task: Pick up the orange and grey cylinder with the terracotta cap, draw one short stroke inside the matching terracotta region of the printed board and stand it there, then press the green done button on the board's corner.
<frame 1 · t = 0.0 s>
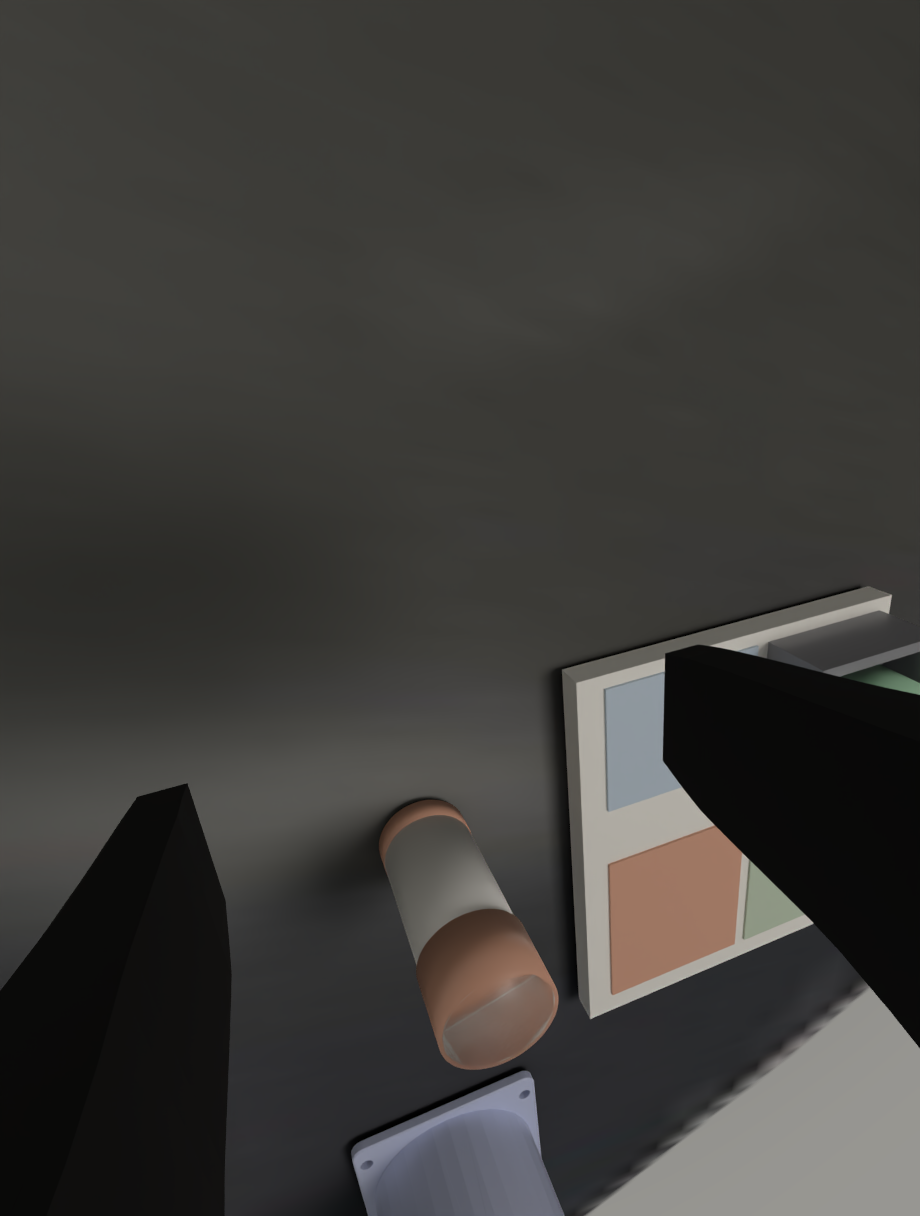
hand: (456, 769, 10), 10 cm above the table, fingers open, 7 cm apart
board: (715, 803, 27), on the table
orange and grey cylinder: (422, 837, 23), on the table
button housing: (817, 685, 25), resting on board
done button: (876, 718, 23), point 4 cm above the table, slide at 0.0 cm
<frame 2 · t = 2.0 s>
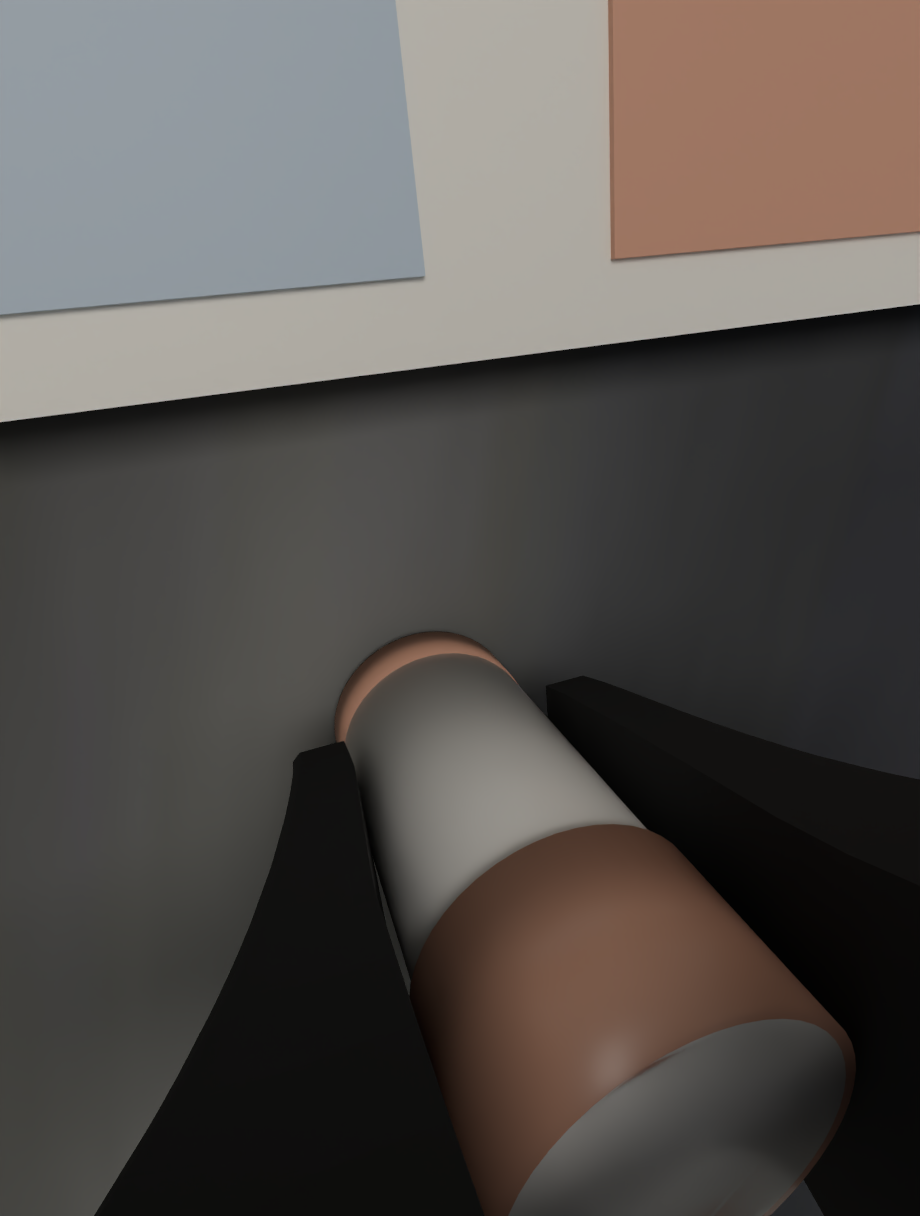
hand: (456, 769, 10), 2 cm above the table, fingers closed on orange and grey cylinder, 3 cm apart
orange and grey cylinder: (425, 715, 11), on the table, touching gripper
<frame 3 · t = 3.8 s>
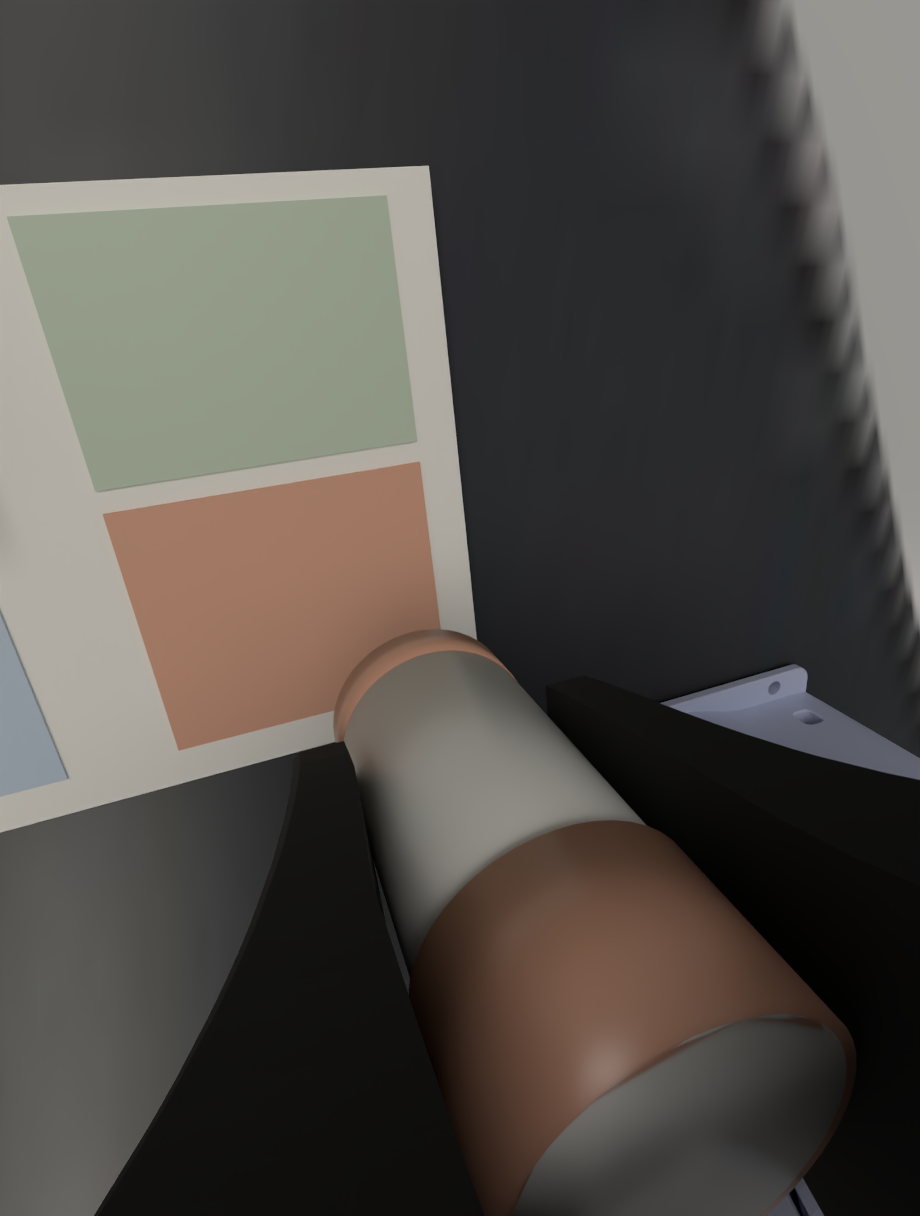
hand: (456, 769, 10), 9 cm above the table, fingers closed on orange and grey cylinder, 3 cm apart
board: (116, 525, 15), on the table
orange and grey cylinder: (424, 713, 11), point 7 cm above the table, touching gripper
when the fingers open (3 cm above the table, at t = 5.5 s): orange and grey cylinder stays where it is, resting on board.
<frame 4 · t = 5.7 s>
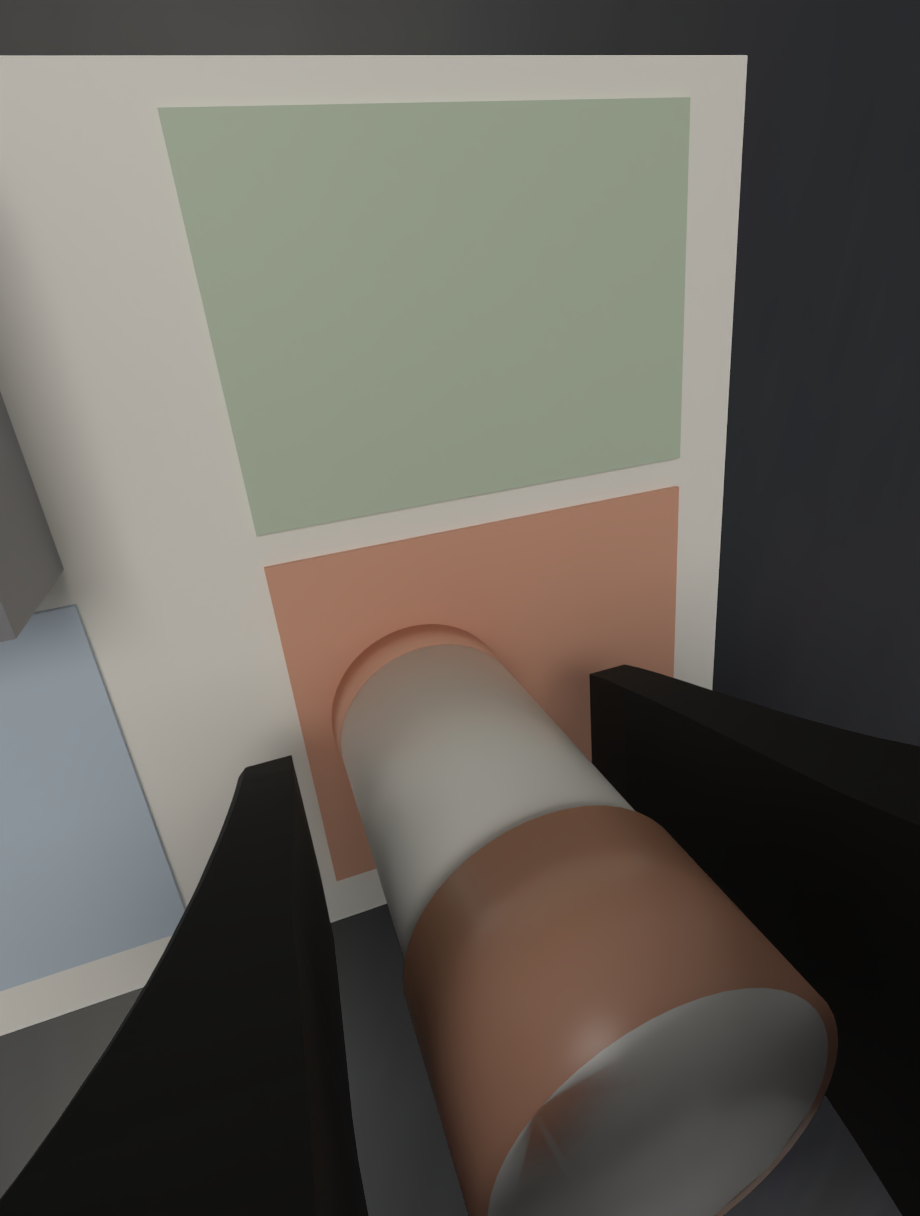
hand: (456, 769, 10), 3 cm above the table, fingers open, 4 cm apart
board: (266, 577, 11), on the table
orange and grey cylinder: (421, 707, 11), point 1 cm above the table, touching board
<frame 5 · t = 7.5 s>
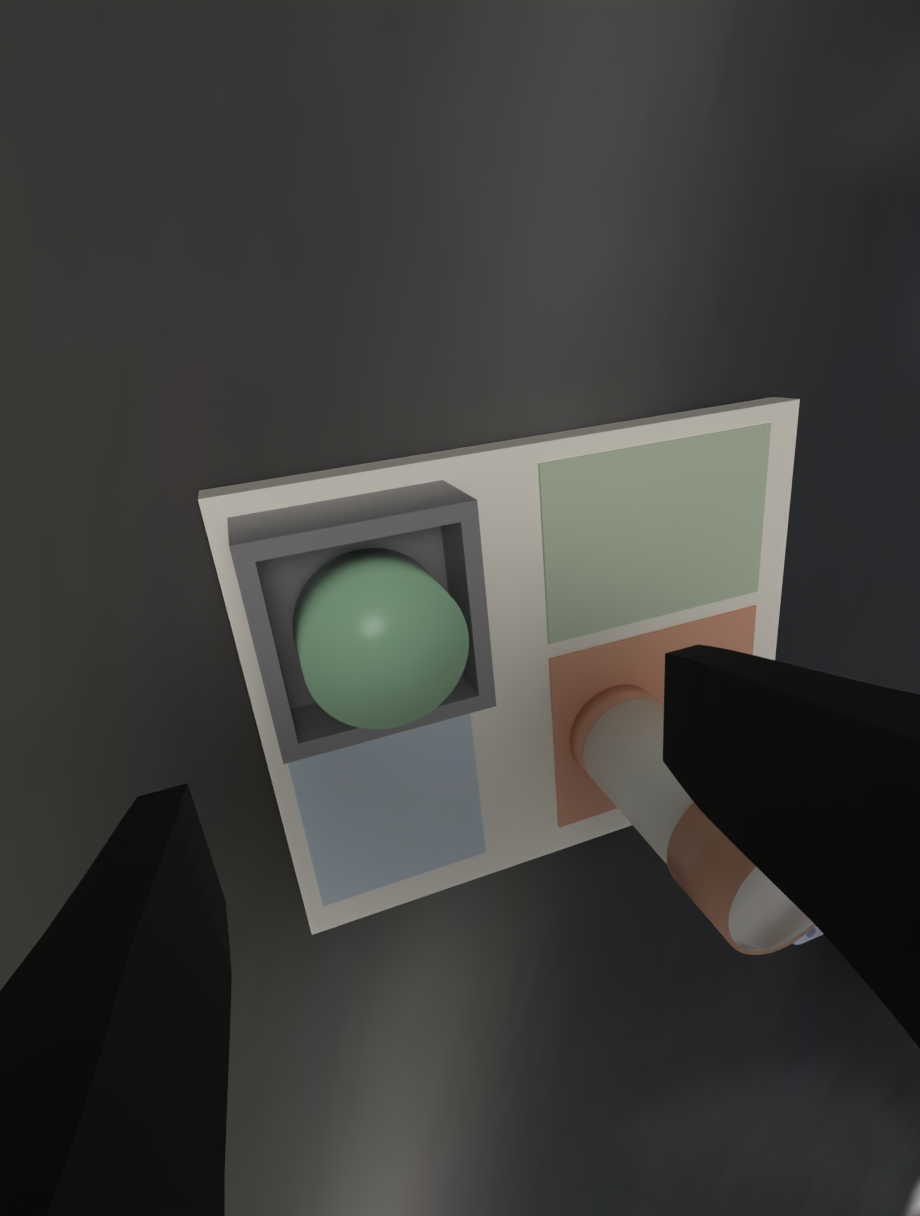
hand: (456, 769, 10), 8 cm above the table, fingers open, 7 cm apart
board: (534, 659, 20), on the table
orange and grey cylinder: (614, 729, 20), point 1 cm above the table, touching board
button housing: (357, 598, 16), resting on board
done button: (379, 637, 14), point 3 cm above the table, slide at 0.0 cm
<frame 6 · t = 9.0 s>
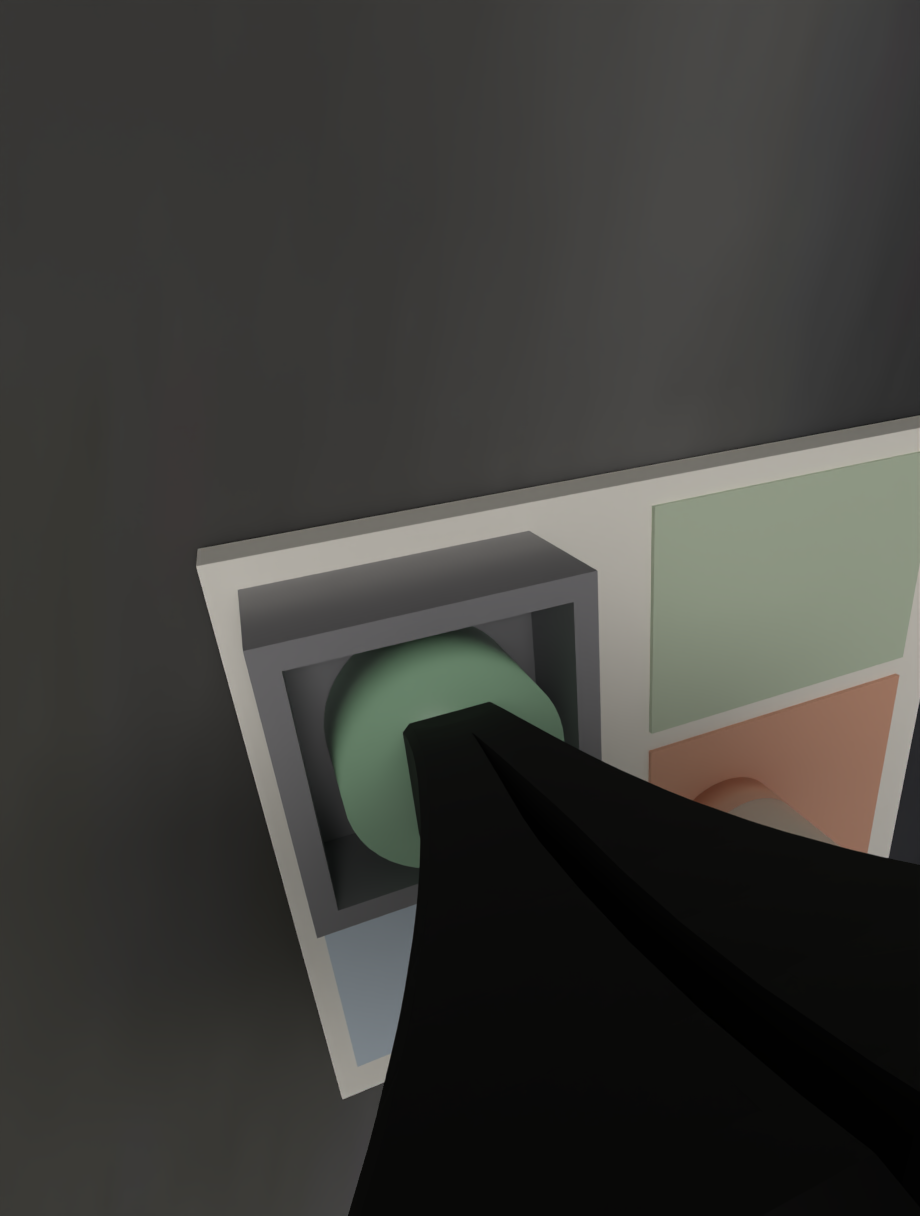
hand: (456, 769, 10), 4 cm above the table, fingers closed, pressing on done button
board: (624, 745, 16), on the table
orange and grey cylinder: (721, 831, 16), point 1 cm above the table, touching board
button housing: (411, 688, 12), resting on board
done button: (440, 740, 10), point 3 cm above the table, slide at 0.7 cm, touching gripper
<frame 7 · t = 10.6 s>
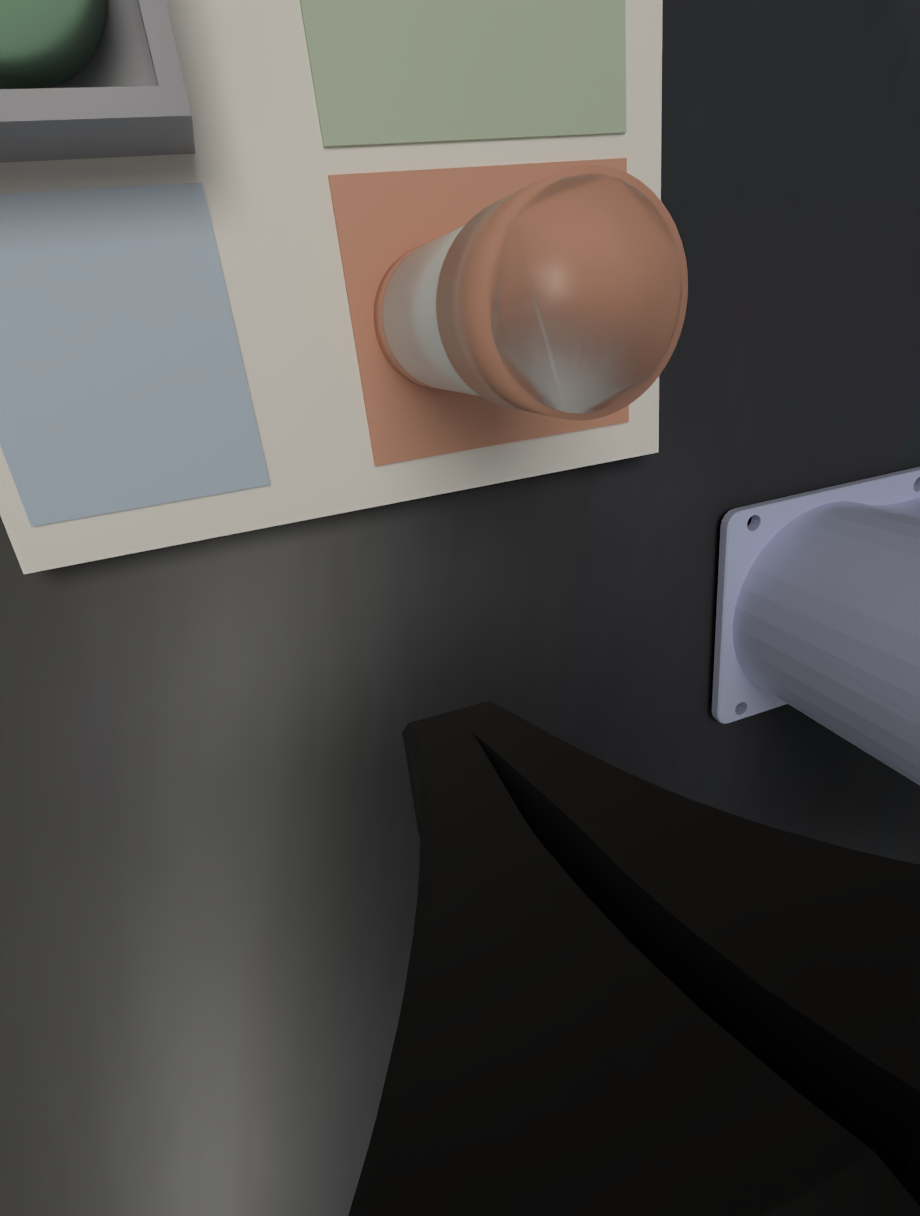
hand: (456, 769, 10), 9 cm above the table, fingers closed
board: (325, 212, 15), on the table
orange and grey cylinder: (438, 319, 15), point 1 cm above the table, touching board
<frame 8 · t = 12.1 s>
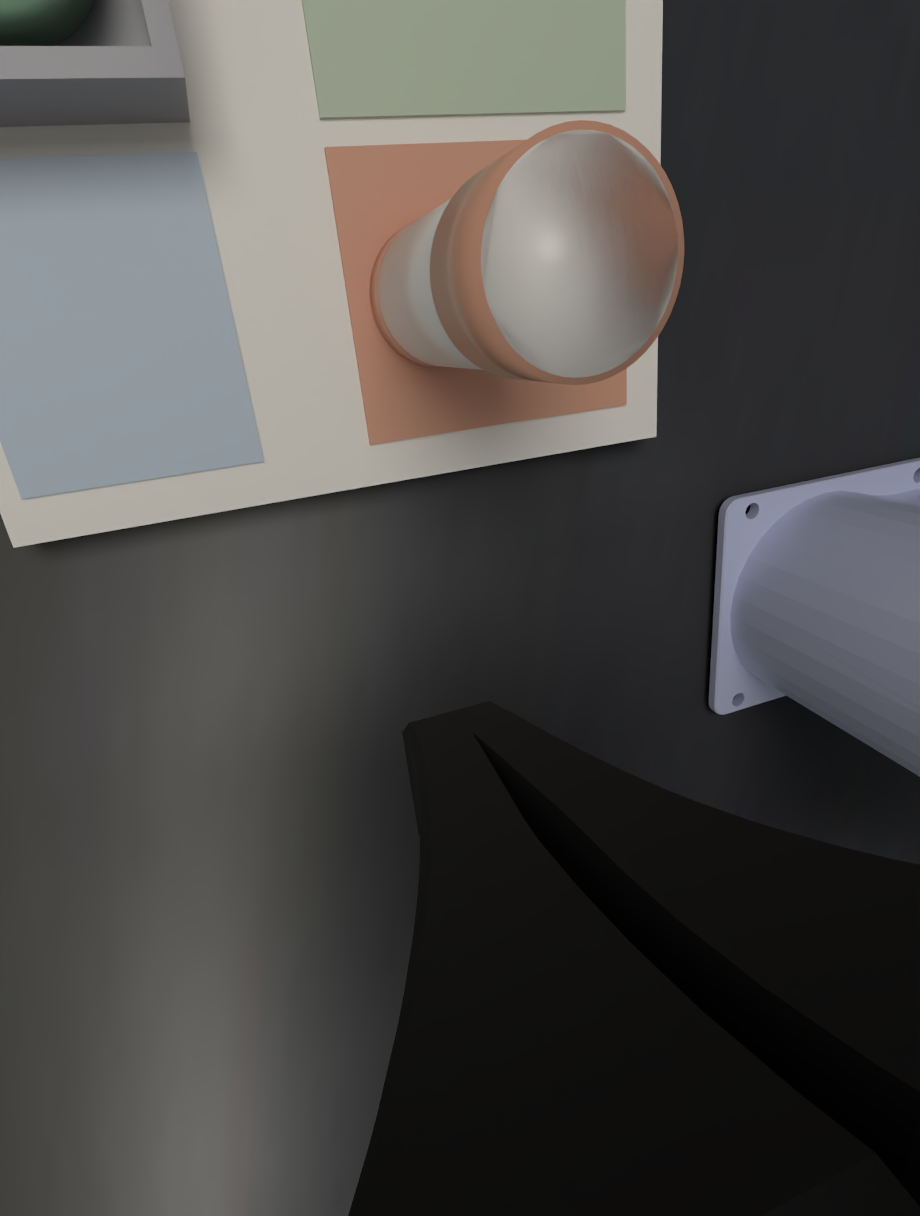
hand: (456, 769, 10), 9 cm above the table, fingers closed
board: (321, 187, 15), on the table
orange and grey cylinder: (434, 296, 15), point 1 cm above the table, touching board
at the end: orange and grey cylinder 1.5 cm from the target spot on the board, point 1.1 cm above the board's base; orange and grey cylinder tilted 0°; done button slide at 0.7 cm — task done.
